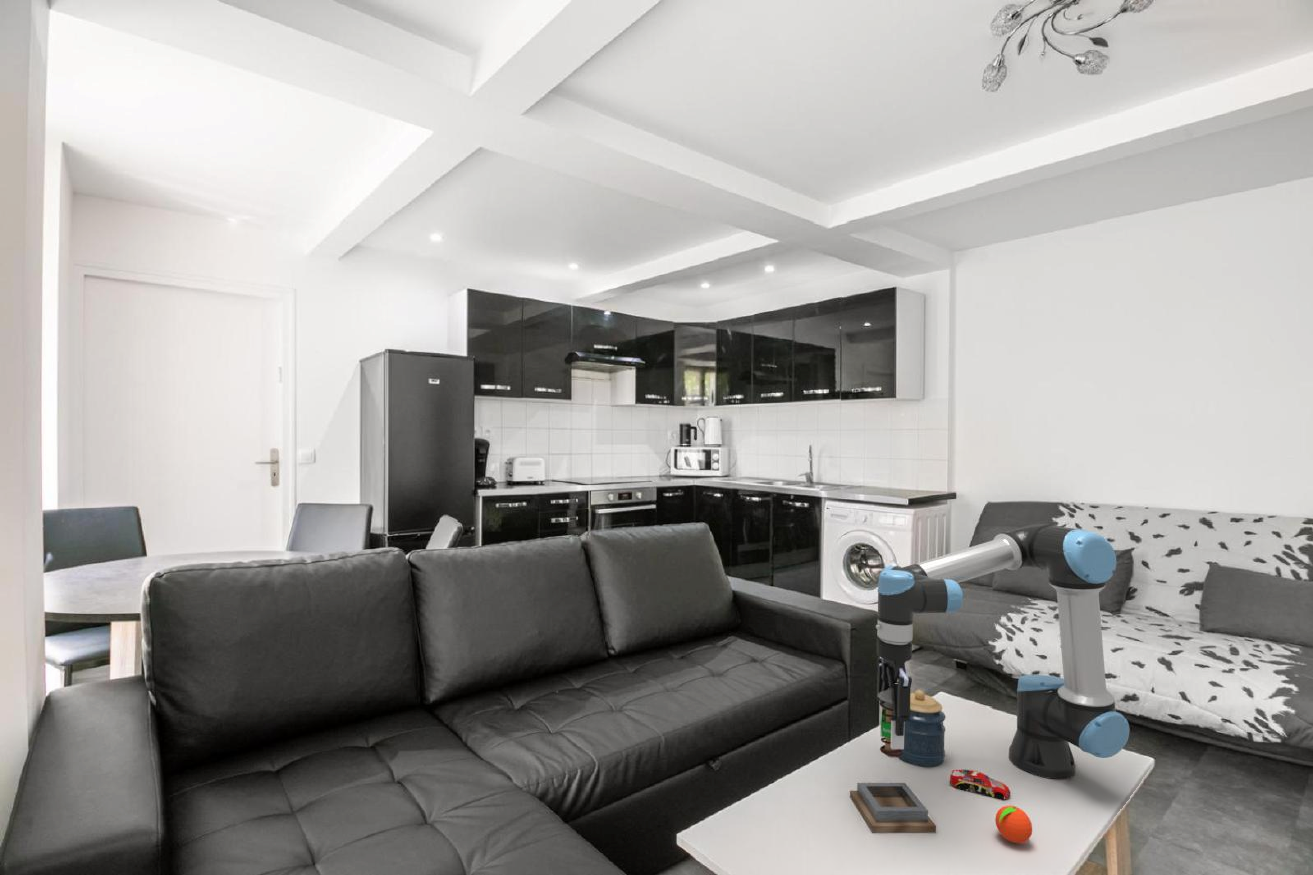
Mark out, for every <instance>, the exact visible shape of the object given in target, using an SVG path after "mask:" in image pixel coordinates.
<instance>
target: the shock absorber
mask: <svg viewBox="0 0 1313 875" xmlns="http://www.w3.org/2000/svg"><path fill="white" fill-rule="evenodd" d="M878 697H879V699H881V700H883V701H885V702H882V704H881V706H880V707H883V708H885V709H882V717H881V716H880V723H881V736H883V737H881V736H880V737H881V738H880V741H881V742H882V743H884V745H882V746H880V748H879V750H880V752H881V753H882V754H883V755H885V756H887V758H893V759H895V758H899V757H898V756H901V755H902V754H903V752H902V749H891V719H890V717H893V706H892V703H893V701H892V693H891V687H889V688H888V690H885V691H882V692H880V693H879V694H878ZM883 705H884V706H883Z"/></svg>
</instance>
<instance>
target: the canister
mask: <svg viewBox="0 0 1313 875" xmlns="http://www.w3.org/2000/svg"><path fill="white" fill-rule="evenodd" d="M942 710H943V705H942V704H941V703H940V702H939V701H937V700H936V699H935V698H934V697H933V696H931V695H928V694H925V692H924V691H923V690H921V689H917V690H915V691H914V692H911V693H910V721H905V723H904V749H902V752H903V754H902V755H901V756H898V757H897V758H899V759H901V760H902V761H904V762H906V763H909V764H912V765H915V766H921V767H937V766H939V765H941V764H943V762H944V760H945V758H946V757H945V756H946V750H945V733H946V726H945V725H944V721H945V720H946V714H945V712H944V711H942Z"/></svg>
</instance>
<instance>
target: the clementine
mask: <svg viewBox="0 0 1313 875" xmlns="http://www.w3.org/2000/svg"><path fill="white" fill-rule="evenodd" d="M995 826H996V829H997V830H998V832H999V834H1000V836H1002V837H1003V838H1004V839H1005V840H1007V841H1008V842H1011V843H1013V844H1023V843H1026V842H1028V841H1029V840H1030V838H1031V836H1032V833H1033V823H1032V821H1031V819H1030V817H1029V816H1028V814H1027V813H1026V812H1024V811H1023V810H1022V809H1021V808H1019V807H1018V806H1015V805H1004V806H1002V807H1001V808H999V809H998V810H997V812H996V814H995Z"/></svg>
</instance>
